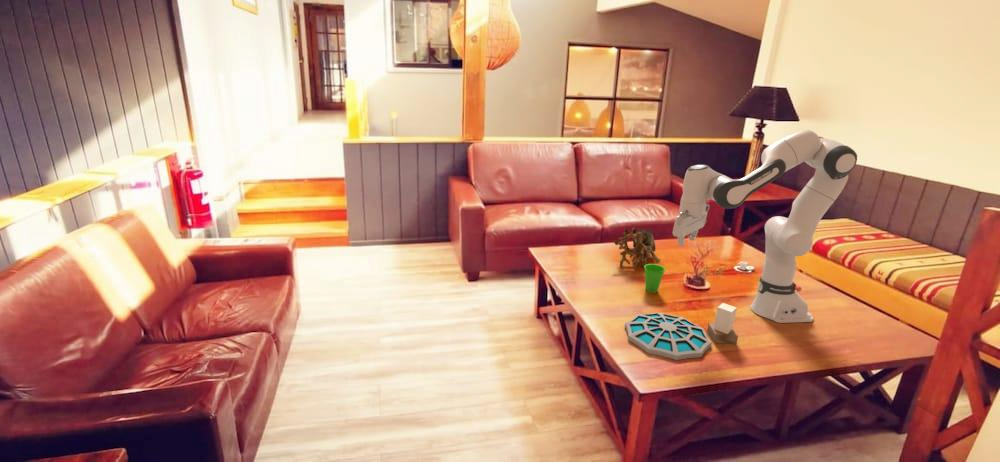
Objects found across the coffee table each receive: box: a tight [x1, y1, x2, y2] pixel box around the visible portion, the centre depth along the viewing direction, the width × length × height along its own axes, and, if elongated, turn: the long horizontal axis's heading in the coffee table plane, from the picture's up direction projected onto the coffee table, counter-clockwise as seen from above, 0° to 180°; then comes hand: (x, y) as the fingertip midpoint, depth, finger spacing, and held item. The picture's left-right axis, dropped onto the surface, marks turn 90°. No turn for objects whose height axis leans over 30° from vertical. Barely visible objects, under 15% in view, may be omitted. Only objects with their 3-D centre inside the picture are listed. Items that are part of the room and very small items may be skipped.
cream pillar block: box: [713, 302, 738, 334], centre depth 177 cm, size 5×5×9 cm
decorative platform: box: [624, 312, 713, 361], centre depth 179 cm, size 31×29×5 cm
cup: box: [643, 263, 666, 294], centre depth 215 cm, size 9×9×11 cm
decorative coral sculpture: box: [613, 227, 661, 269], centre depth 247 cm, size 24×22×29 cm
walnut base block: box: [706, 322, 739, 345], centre depth 179 cm, size 8×8×4 cm
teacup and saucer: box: [733, 260, 755, 273], centre depth 241 cm, size 9×8×4 cm
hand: (686, 242), depth 185 cm, fingers open, 8 cm apart
